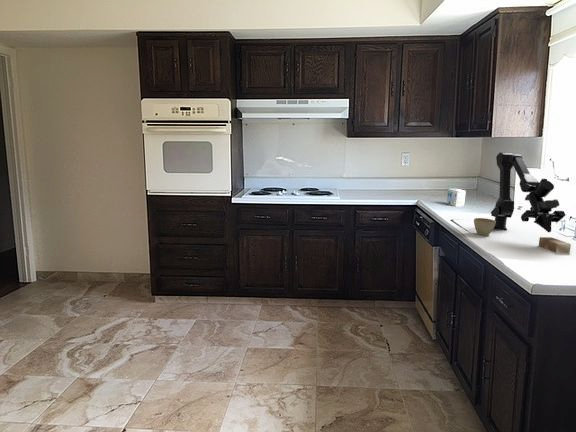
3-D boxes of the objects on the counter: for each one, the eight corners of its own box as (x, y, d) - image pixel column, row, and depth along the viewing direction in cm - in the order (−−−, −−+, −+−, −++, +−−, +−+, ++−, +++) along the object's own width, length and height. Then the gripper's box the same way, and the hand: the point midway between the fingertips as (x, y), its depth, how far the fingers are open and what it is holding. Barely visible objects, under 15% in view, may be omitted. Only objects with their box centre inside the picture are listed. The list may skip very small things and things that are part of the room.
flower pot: (467, 232, 236) (469, 218, 234) (483, 231, 239) (485, 217, 238) (482, 237, 226) (484, 222, 225) (498, 236, 230) (500, 221, 229)
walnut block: (539, 237, 214) (558, 243, 202) (551, 237, 215) (571, 244, 203) (538, 245, 214) (556, 253, 203) (550, 245, 215) (569, 253, 204)
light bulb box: (446, 203, 324) (447, 188, 322) (454, 203, 326) (456, 188, 324) (455, 206, 314) (457, 190, 312) (464, 206, 316) (466, 190, 314)
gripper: (528, 192, 212) (541, 221, 203) (566, 193, 215) (580, 222, 206) (515, 206, 221) (526, 235, 213) (551, 207, 224) (564, 235, 215)
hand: (549, 231), depth 212 cm, fingers closed
